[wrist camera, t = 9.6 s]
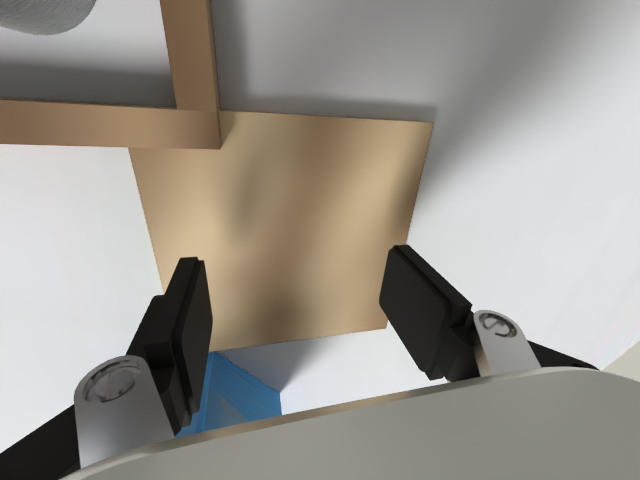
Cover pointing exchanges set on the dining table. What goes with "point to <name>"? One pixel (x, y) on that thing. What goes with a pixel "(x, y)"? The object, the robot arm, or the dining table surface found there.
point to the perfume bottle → (231, 398)
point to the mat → (286, 219)
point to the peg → (43, 15)
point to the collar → (136, 121)
